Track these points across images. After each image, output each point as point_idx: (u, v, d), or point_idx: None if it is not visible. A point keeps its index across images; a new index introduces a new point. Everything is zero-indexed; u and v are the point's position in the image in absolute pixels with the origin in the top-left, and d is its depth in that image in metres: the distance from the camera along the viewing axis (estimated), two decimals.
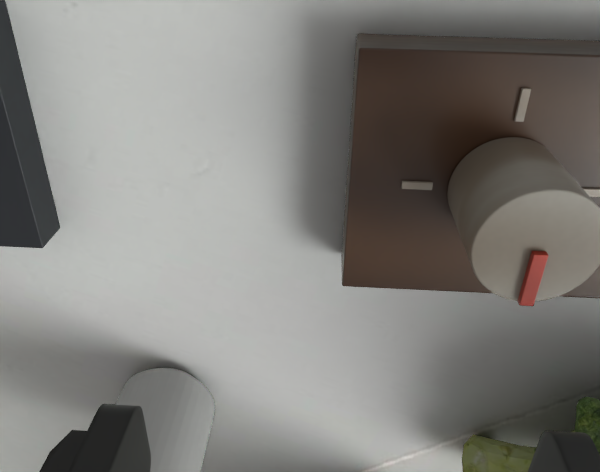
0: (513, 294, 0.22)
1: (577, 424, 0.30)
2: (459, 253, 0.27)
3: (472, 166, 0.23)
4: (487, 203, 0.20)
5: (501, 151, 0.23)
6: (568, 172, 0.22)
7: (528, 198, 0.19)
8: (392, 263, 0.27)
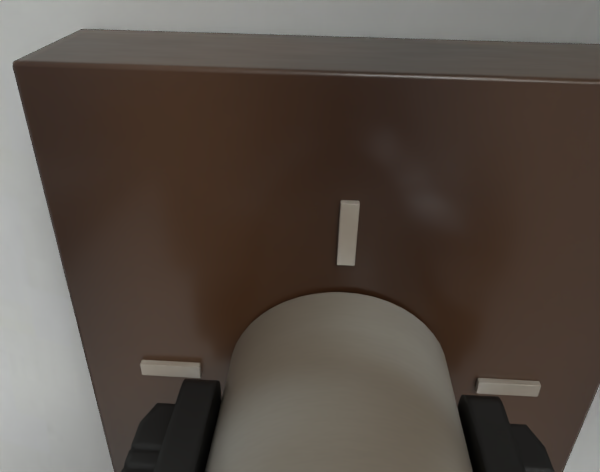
0: None
1: None
2: None
3: None
4: None
5: None
6: (246, 383, 0.10)
7: None
8: None
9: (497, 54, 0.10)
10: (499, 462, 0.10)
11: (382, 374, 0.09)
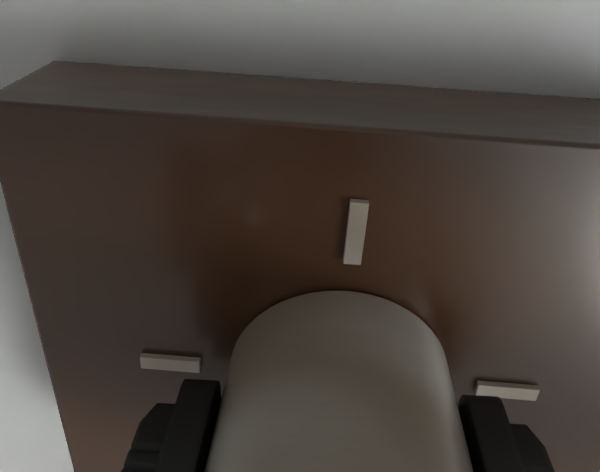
0: None
1: None
2: None
3: None
4: None
5: None
6: (243, 383, 0.10)
7: None
8: None
9: None
10: (499, 462, 0.10)
11: (378, 372, 0.09)
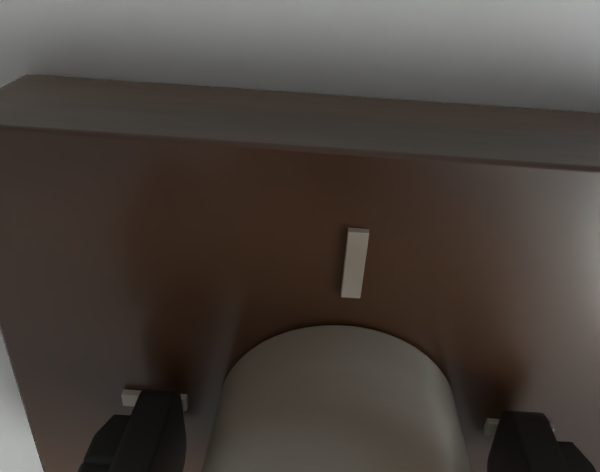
0: None
1: None
2: None
3: None
4: None
5: None
6: (232, 432, 0.09)
7: None
8: None
9: None
10: None
11: (381, 424, 0.08)
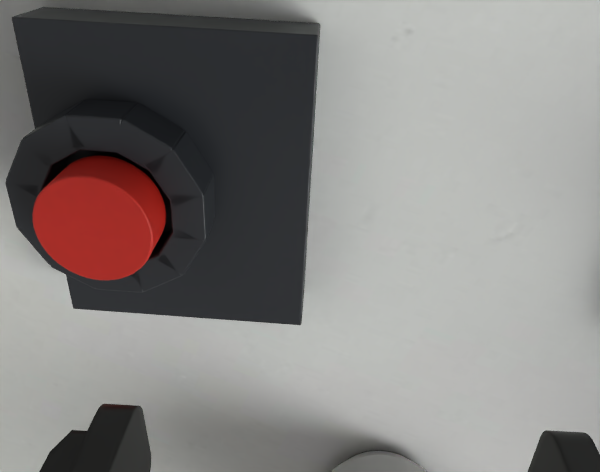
0: None
1: None
2: None
3: None
4: None
5: None
6: None
7: None
8: None
9: None
10: None
11: None
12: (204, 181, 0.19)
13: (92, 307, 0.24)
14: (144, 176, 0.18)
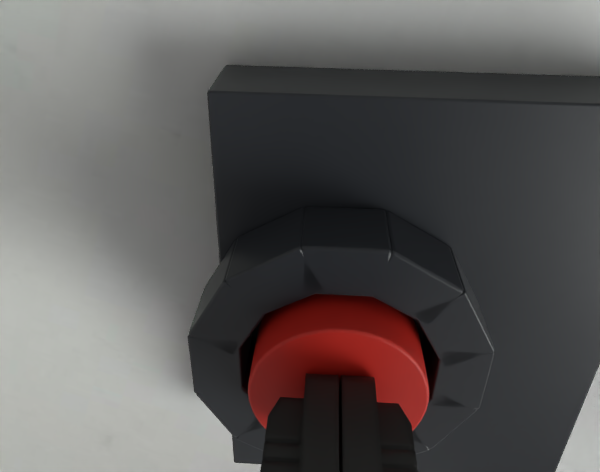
0: None
1: None
2: None
3: None
4: None
5: None
6: None
7: None
8: None
9: None
10: (357, 437, 0.10)
11: None
12: (485, 325, 0.13)
13: (261, 462, 0.17)
14: None
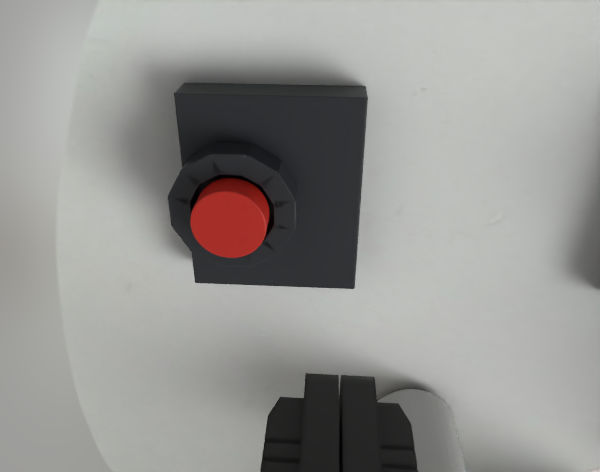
0: None
1: None
2: None
3: None
4: None
5: None
6: None
7: None
8: None
9: None
10: (357, 437, 0.10)
11: None
12: (294, 191, 0.29)
13: (208, 281, 0.34)
14: (257, 189, 0.29)
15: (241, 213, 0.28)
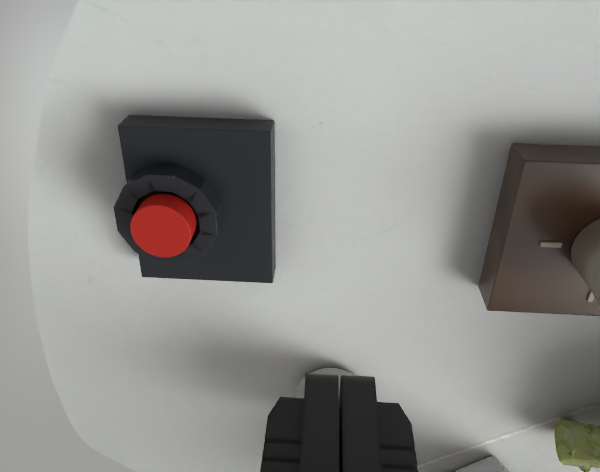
0: None
1: None
2: (573, 288, 0.39)
3: None
4: None
5: (578, 269, 0.36)
6: None
7: None
8: (525, 295, 0.39)
9: None
10: (357, 437, 0.10)
11: None
12: (215, 204, 0.37)
13: (153, 276, 0.41)
14: (185, 203, 0.36)
15: (170, 222, 0.35)
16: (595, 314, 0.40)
